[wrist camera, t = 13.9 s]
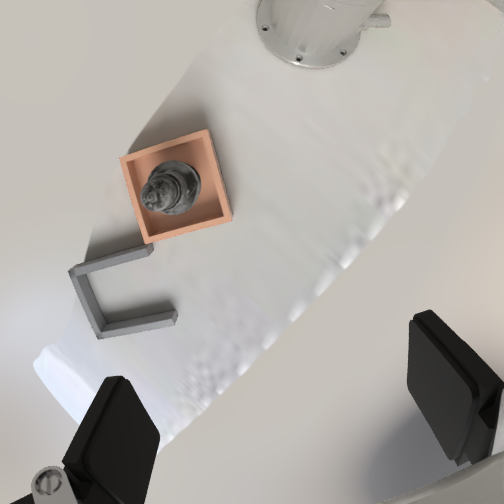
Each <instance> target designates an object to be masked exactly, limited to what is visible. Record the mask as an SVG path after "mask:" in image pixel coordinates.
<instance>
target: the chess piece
mask: <svg viewBox="0 0 504 504" xmlns="http://www.w3.org/2000/svg"><path fill="white" fill-rule="evenodd" d="M200 191H201V179H200V175H199V174H198V172H197V170H196V169H195V168H194V167H192V166H191V165H189V164H187V163H184V162H181V161H177V160H169V161H166V162H162V163H161V164H159V165H157V166H156V167H155V168H154V169H153V170H152V171H151V173H150V175H149V177H148V180H147V183H146V184H145V185H144V186H143V188H142V190H141V193H140V199H141V203H142V205H143V206H144V207H145V208H146V209H147V210H149V211H153V212H158V211H160V212H162V213H164V214H168V215H178V214H182V213H184V212H186V211H188V210H189V209H190V208H191V207H192V206H193V205H194V204H195V202H196V200H197V199H198V196H199V194H200Z"/></svg>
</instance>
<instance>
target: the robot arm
mask: <svg viewBox="0 0 504 504" xmlns="http://www.w3.org/2000/svg"><path fill="white" fill-rule="evenodd" d="M384 1H385V0H262V2H261V3H260V6H259V9H258V12H257V28H258V32H259V35H260V37H261V39H262V41H263V42H264V44H265V45H266V46H267V47H268V49H269V50H270V51H271V52H273V53H274V54H275V55H276V56H277V57H279V58H280V59H282V60H284V61H285V62H288V63H290V64H292V65H295V66H299V67H302V68H309V69H323V68H328V67H332V66H335V65H337V64H339V63H341V62H342V61H344V60H345V59H347V58H348V57H349V56H350V55H351V54H352V53H353V51H354V50H355V49H356V47H357V45H358V42H359V40H360V32H361V31H362V30H367V29H368V28H369V27H375V28H389V27H390V25H391V20H390V17H389V15H388V14H383V13H382V14H372V13H373V12H374V11H375V10H376V9H377V8H378V7H379V6H380V5H381V4H382V3H383V2H384ZM486 1H487V2H489V3H490V4H492V5H493V6H494V7H496V8H497V9H499V10H501V11H502V12H504V0H486ZM263 29H267V31H264V30H263ZM340 53H343V55H341V54H340ZM296 59H300V61H299V62H298V61H297V60H296ZM408 352H409V353H408V373H407V386H408V390H409V392H410V393H411V395H412V397H413V398H414V400H415V402H416V403H417V405H418V407H419V409H420V410H421V412H422V414H423V415H424V417H425V419H426V420H427V422H428V423H429V425H430V427H431V429H432V431H433V433H434V434H435V436H436V438H437V439H438V441H439V443H440V445H441V447H442V448H443V450H444V452H445V454H446V456H447V457H448V459H449V460H453V459H454V460H455V462H456V464H457V466H459V465H461V464H463V463H465V462H467V461H470V462H471V464H472V465H471V466H469V467H467V468H465V469H463V470H461V471H458V472H456V473H454V474H452V475H450V476H448V477H445V478H443V479H441V480H439V481H436V482H434V483H431V484H429V485H426V486H424V487H421V488H419V489H416V490H413V491H411V492H408V493H406V494H403V495H400V496H397V497H395V498H391V499H389V500H385V501H382V502H379V503H376V504H504V382H503V381H502V380H501V379H500V378H499V377H498V375H497V374H496V373H495V372H494V371H493V370H492V369H491V368H490V367H489V366H488V365H487V364H486V363H485V362H484V361H483V360H482V359H481V358H480V357H479V356H478V354H477V353H476V352H475V351H474V350H473V349H472V348H471V347H470V346H469V345H468V344H467V343H466V342H465V341H463V340H462V339H461V338H460V337H459V336H458V335H457V334H456V333H455V332H454V331H453V330H452V329H451V328H450V327H449V326H447V324H446V323H444V322H443V321H442V320H441V319H440V318H439V317H438V316H437V315H436V314H435V313H434V312H433V311H432V310H426V311H423V312H420V313H417V314H415V315H414V317H413V320H411V321H410V322H409V351H408ZM159 442H160V434H159V431H158V429H157V428H156V426H155V425H154V423H153V421H152V420H151V418H150V416H149V415H148V413H147V411H146V409H145V408H144V406H143V404H142V403H141V401H140V399H139V397H138V395H137V394H136V392H135V390H134V388H133V386H132V384H131V383H130V381H129V380H128V379H125V378H124V377H123V376H111V377H106V378H105V379H104V381H103V383H102V385H101V387H100V389H99V390H98V392H97V394H96V396H95V398H94V400H93V401H92V403H91V405H90V407H89V409H88V411H87V413H86V415H85V417H84V418H83V420H82V422H81V424H80V426H79V428H78V430H77V432H76V434H75V436H74V438H73V440H72V442H71V444H70V446H69V448H68V450H67V452H66V454H65V456H64V458H63V460H62V462H63V464H64V465H65V467H64V469H62V468H60V467H57V466H49V467H46V468H43V469H42V470H40V471H39V472H38V473H37V474H36V475H35V476H34V478H33V480H32V484H31V488H32V493H31V494H29V495H27V496H25V497H23V498H21V499H19V500H17V501H15V502H13V503H11V504H144V502H145V498H146V494H147V490H148V485H149V482H150V478H151V473H152V469H153V465H154V461H155V458H156V454H157V450H158V446H159Z"/></svg>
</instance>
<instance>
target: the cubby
mask: <svg viewBox="0 0 504 504" xmlns="http://www.w3.org/2000/svg"><path fill="white" fill-rule="evenodd" d="M153 251H154V249H153V246H152V243H149V244H145V245H141V246H138V247H134V248H131V249H128V250H124V251H121V252H117V253H114V254H110V255H107V256H104V257H100V258H97V259H94V260H90V261H87V262H84V263H81V264H77V265H76V266H74V267H73V268H71V269H70V270H68V273H69V275H70V278H71V280H72V283H73V285H74V288H75V290H76V293H77V295H78V297H79V300H80V302H81V304H82V306H83V309H84V311H85V313H86V315H87V318H88V320H89V322H90V324H91V326H92V328H93V330H94V332H95V334H96V337H97V339H104V338H110V337H116V336H122V335H127V334H133V333H138V332H143V331H149V330H154V329H159V328H164V327H169V326H174V325H175V323H176V320H177V317H178V315H177V312H176V310H172V311H168V312H163V313H158V314H154V315H149V316H144V317H139V318H134V319H129V320H124V321H119V322H114V323H109V324H107V323H106V321H105V318H104V316H103V314H102V312H101V309H100V307H99V305H98V303H97V300H96V298H95V295H94V293H93V291H92V288H91V286H90V283H89V281H88V278H87V276H86V273H90V272H93V271H97V270H100V269H104V268H107V267H111V266H115V265H118V264H122V263H125V262H129V261H133V260H136V259H140V258H144V257H147V256H149V255H150V254H151V253H152V252H153Z"/></svg>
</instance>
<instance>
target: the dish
mask: <svg viewBox="0 0 504 504" xmlns="http://www.w3.org/2000/svg"><path fill="white" fill-rule="evenodd" d="M119 159H120V163H121V166H122V170H123V174H124V177H125V181H126V184H127V188H128V191H129V195H130V198H131V201H132V205H133V208H134V211H135V214H136V218H137V221H138V224H139V227H140V230H141V233H142V236H143V239H144V242H145V244H149V243H152V242H156V241H159V240H163V239H166V238H170V237H174V236H177V235H181V234H185V233H188V232H192V231H196V230H199V229H203V228H207V227H211V226H214V225H218V224H222V223H226V222H230V221H232V218H233V214H232V210H231V207H230V203H229V199H228V196H227V192H226V188H225V185H224V181H223V177H222V174H221V170H220V166H219V162H218V159H217V155H216V151H215V148H214V144H213V140H212V136H211V133H210V131H209V130H208V129H205V130H202V131H198V132H195V133H192V134H188V135H185V136H182V137H179V138H175V139H172V140H169V141H166V142H163V143H160V144H157V145H154V146H151V147H148V148H146V149H143V150H140V151H137V152H134V153H132V154H129V155H126V156H123V157H121V158H119ZM169 160H177V161H181V162H184V163H187V164H189V165H191V166H192V167H194V168H195V169H196V170H197V172H198V174H199V175H200V179H201V191H200V194H199V196H198V199H197V200H196V202H195V204H194V205H193V206H192V207H191V208H190V209H189V210H188V211H186V212H184V213H182V214H178V215H168V214H164V213H162V212H160V211H158V212H153V211H149V210H147V209H146V208H145V207H144V206H143V205H142V203H141V199H140V193H141V190H142V188H143V186H144V185H145V184H146V183H147V180H148V177H149V175H150V173H151V171H152V170H153V169H154V168H155V167H156V166H157V165H159V164H161V163H162V162H166V161H169Z"/></svg>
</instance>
